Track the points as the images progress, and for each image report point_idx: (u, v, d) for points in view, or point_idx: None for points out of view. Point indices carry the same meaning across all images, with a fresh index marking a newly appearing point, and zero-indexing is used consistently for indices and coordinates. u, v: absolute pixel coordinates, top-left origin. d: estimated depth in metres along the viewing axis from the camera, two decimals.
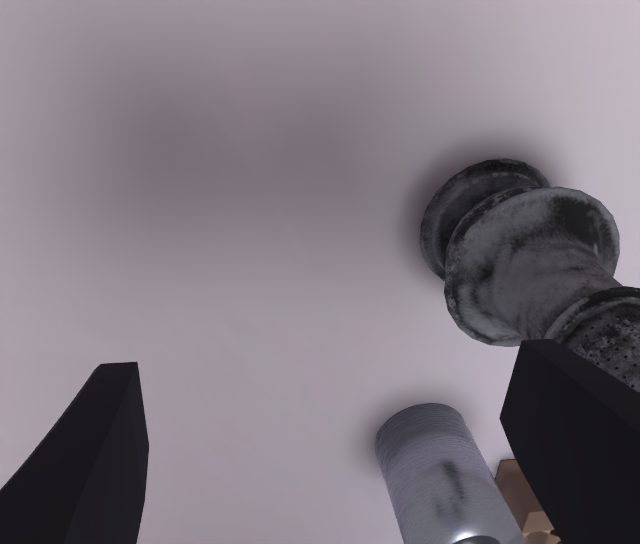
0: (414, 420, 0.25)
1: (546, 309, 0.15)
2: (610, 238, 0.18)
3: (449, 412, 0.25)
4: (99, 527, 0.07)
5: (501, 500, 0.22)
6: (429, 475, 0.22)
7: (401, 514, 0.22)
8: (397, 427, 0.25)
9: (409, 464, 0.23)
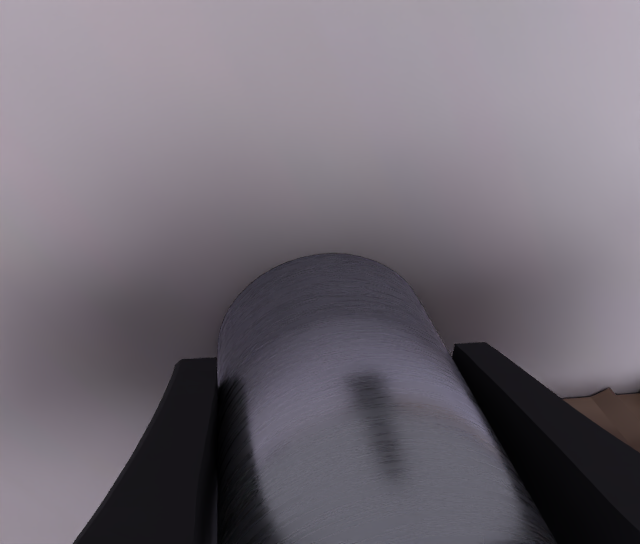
0: (291, 283, 0.10)
1: None
2: None
3: (382, 272, 0.11)
4: (203, 517, 0.07)
5: (508, 473, 0.07)
6: (295, 400, 0.08)
7: (218, 516, 0.08)
8: (252, 304, 0.10)
9: (255, 380, 0.08)
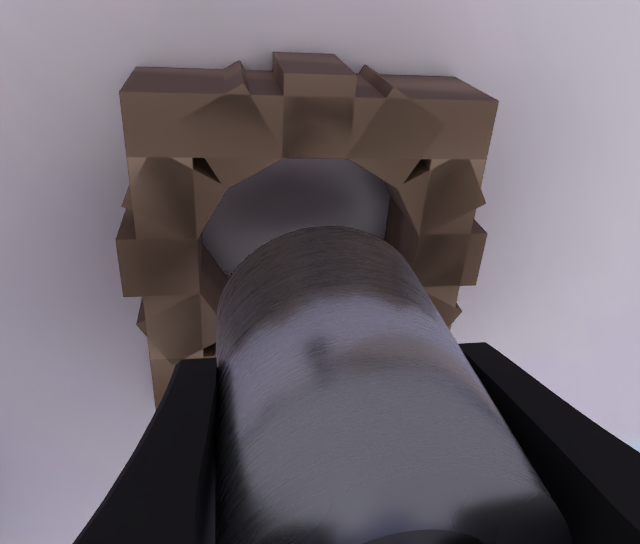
0: (277, 258, 0.10)
1: None
2: None
3: (367, 240, 0.11)
4: (203, 517, 0.07)
5: (488, 417, 0.07)
6: (278, 365, 0.08)
7: (215, 483, 0.08)
8: (242, 282, 0.10)
9: (243, 351, 0.09)
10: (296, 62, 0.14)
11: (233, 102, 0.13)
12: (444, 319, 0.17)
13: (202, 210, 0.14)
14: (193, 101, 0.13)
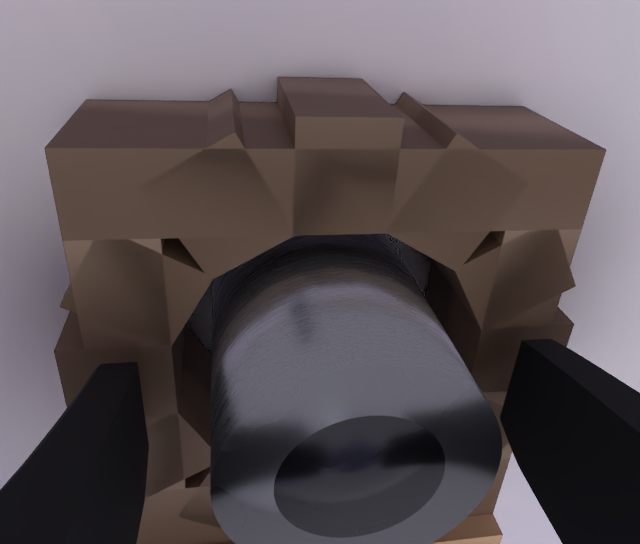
0: None
1: None
2: None
3: None
4: (99, 527, 0.07)
5: (435, 334, 0.09)
6: (263, 297, 0.09)
7: (211, 398, 0.10)
8: None
9: (235, 291, 0.10)
10: (311, 94, 0.10)
11: (220, 160, 0.09)
12: None
13: (178, 308, 0.10)
14: (159, 159, 0.08)
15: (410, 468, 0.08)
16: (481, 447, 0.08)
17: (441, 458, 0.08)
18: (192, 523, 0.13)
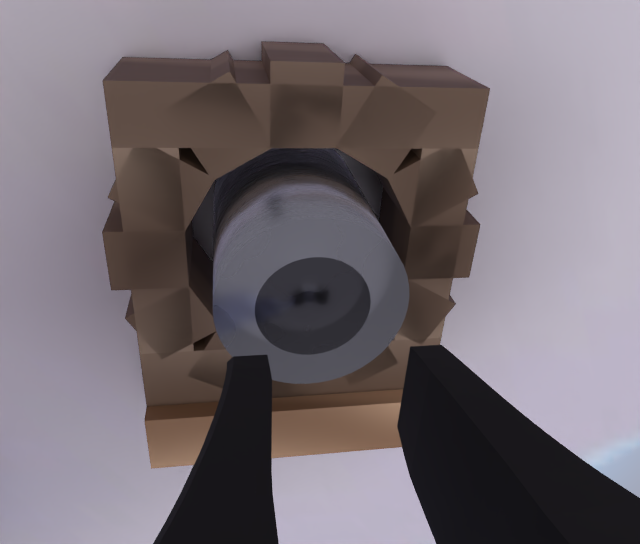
0: None
1: None
2: None
3: None
4: None
5: (365, 213, 0.13)
6: (249, 192, 0.13)
7: None
8: None
9: (230, 194, 0.14)
10: (284, 51, 0.14)
11: (219, 91, 0.13)
12: (438, 312, 0.17)
13: (189, 201, 0.14)
14: (178, 90, 0.13)
15: (346, 300, 0.12)
16: (394, 287, 0.13)
17: (367, 294, 0.12)
18: (199, 382, 0.17)
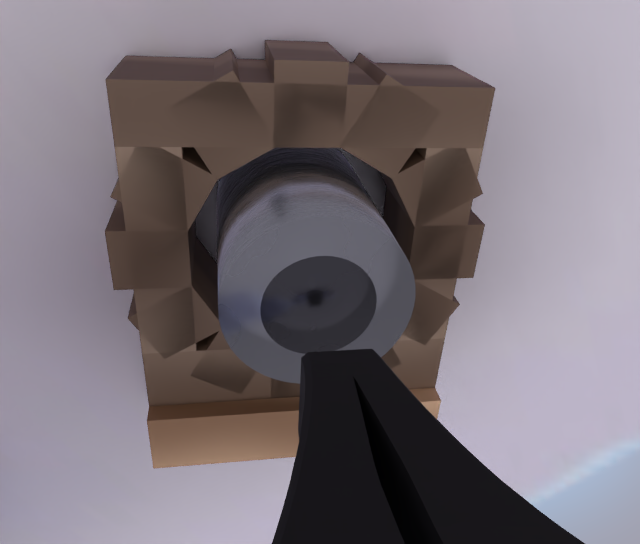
0: None
1: None
2: None
3: None
4: None
5: (372, 212, 0.13)
6: (255, 190, 0.13)
7: (217, 263, 0.14)
8: None
9: (235, 192, 0.14)
10: (288, 49, 0.14)
11: (223, 90, 0.13)
12: (441, 312, 0.17)
13: (192, 201, 0.14)
14: (181, 89, 0.12)
15: (352, 299, 0.12)
16: (401, 287, 0.12)
17: (373, 293, 0.12)
18: (201, 382, 0.17)
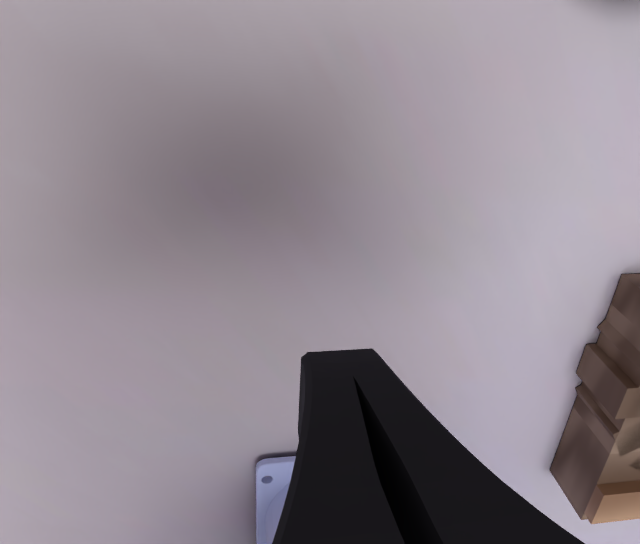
0: None
1: None
2: None
3: None
4: None
5: None
6: None
7: None
8: None
9: None
10: None
11: None
12: None
13: None
14: None
15: None
16: None
17: None
18: (632, 469, 0.26)
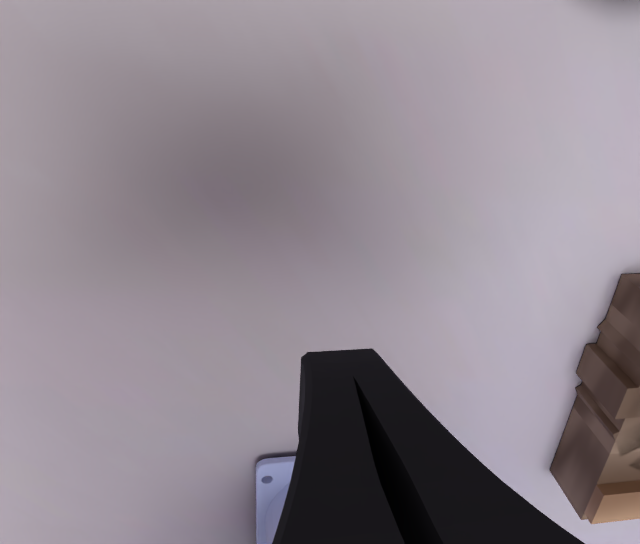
0: None
1: None
2: None
3: None
4: None
5: None
6: None
7: None
8: None
9: None
10: None
11: None
12: None
13: None
14: None
15: None
16: None
17: None
18: (632, 469, 0.26)
